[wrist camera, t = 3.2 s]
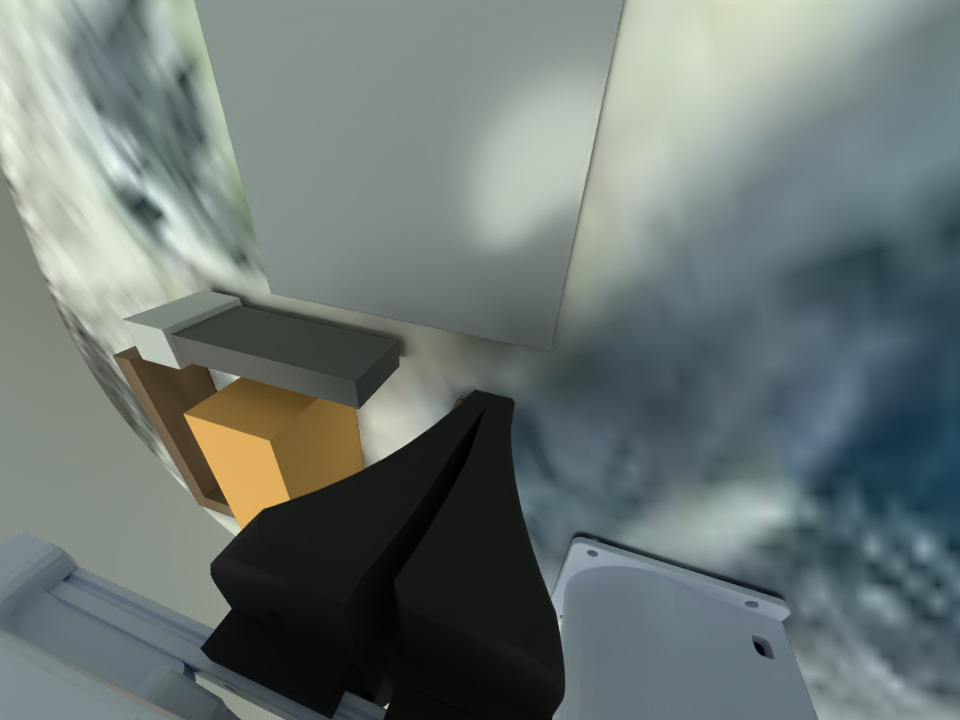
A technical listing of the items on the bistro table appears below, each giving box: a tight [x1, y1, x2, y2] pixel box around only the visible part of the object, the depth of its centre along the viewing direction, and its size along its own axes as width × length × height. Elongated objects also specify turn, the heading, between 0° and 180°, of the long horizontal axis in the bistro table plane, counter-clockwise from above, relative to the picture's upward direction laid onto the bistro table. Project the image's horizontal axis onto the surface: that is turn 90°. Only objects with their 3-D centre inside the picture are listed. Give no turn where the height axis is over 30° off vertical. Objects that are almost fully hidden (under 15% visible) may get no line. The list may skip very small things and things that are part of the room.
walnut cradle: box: [113, 346, 463, 519], centre depth 19 cm, size 17×11×3 cm, turn 86°
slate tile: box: [194, 0, 624, 352], centre depth 11 cm, size 12×12×1 cm
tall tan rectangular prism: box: [184, 377, 364, 530], centre depth 18 cm, size 4×9×5 cm, turn 176°
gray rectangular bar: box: [122, 290, 400, 409], centre depth 14 cm, size 10×2×3 cm, turn 86°
